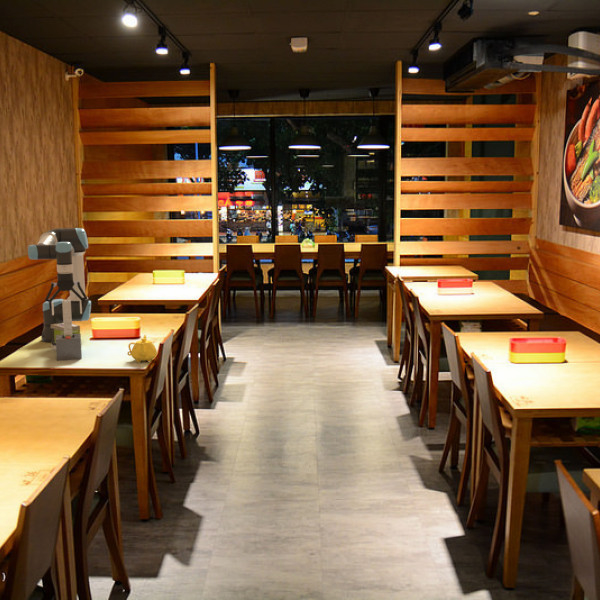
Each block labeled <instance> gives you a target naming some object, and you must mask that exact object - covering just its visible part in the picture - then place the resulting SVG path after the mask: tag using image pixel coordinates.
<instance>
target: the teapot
mask: <svg viewBox="0 0 600 600" xmlns="http://www.w3.org/2000/svg"><path fill="white" fill-rule="evenodd" d="M131 345H133V347H132V349H131ZM128 350H129V351H127V354H126V355H128V357H130V356H131V357H132V359H133V360H136V361H135V363H137V362H138V363H141V362H140V361H151V362H150V363H152V362H153V361H152V360H154V359H155V358H156V357H157V355H158V351H157V348H156V346H155V344H154V343H153V341H152V340H149V339H147V334H145V335H143V337H142V338H140V340H137V341H135V342H134V341H133V342H129V344H128Z"/></svg>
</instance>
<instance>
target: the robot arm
mask: <svg viewBox="0 0 600 600" xmlns="http://www.w3.org/2000/svg"><path fill="white" fill-rule="evenodd" d="M88 249H89V241H88V237H87V233H86V231H85V229H84V228H82V227H81V228H80V227H69V228H68V227H66V228H63V227H62V228H60V227H59V228H52V229H49V230H47V231H45V232H43V233H42V234H41V235H40V237H39V239H38V242H37V243H36V244H29V245H28V247H27V254H28V255H27V256H28V259H29V260H35V261H37V260H56V272H57V274H56V278H57V282H51V284H50V288H49V290H48V293H47V295H46V297H45V299H44V301H45V302H43V303H42V318H43V329H42V333H41V337H40V339H41V342H43V343H51V324H58V323H63V307H62V300H64V299H63V298H56V297H57V295H58V294H59V293H60V292H61V291H62V292H69V296H68V297H67V298H66V300H70V299H71V316H72V322H83V321H84V322H85V321H89V319H90V318H91V311H92V300H89V297H88V296H87V294H86V284H85V283H86V281H85V266H84V264H85V263H84V254H85V253H86V251H87V250H88ZM56 286H57V287H58V288H57V290H56V291H55V293H53V295H52V296H51V294H52V292H53V290H54V288H55V287H56ZM50 296H51V297H50ZM55 298H56V299H55Z"/></svg>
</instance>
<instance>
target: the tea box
mask: <svg viewBox="0 0 600 600" xmlns="http://www.w3.org/2000/svg"><path fill="white" fill-rule="evenodd" d="M72 334H81V326H80V325H79V324H76V323H75V324H74V323H72ZM56 335H64V325H63V323H58V324H51V342H50V343H51V350H52V351H56Z"/></svg>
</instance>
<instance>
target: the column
mask: <svg viewBox="0 0 600 600" xmlns="http://www.w3.org/2000/svg"><path fill="white" fill-rule="evenodd" d="M62 307H63V325H64V338H66V336H71V338H73V335H72V324H73V321H72V316H71V299H70V300H67V299H63V300H62Z"/></svg>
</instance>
